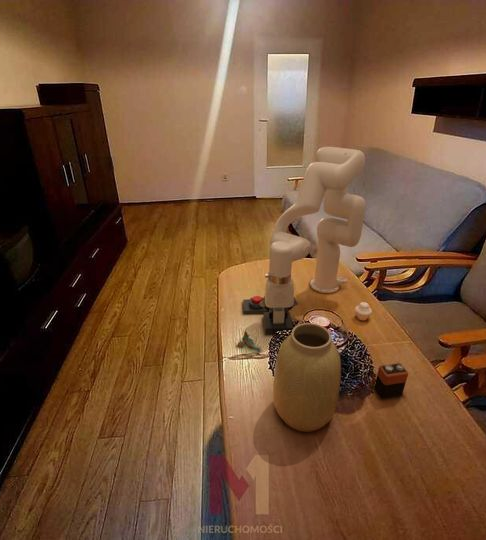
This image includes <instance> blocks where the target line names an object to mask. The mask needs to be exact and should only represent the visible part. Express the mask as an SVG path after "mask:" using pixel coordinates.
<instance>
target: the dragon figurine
mask: <svg viewBox="0 0 486 540" xmlns="http://www.w3.org/2000/svg"><path fill="white" fill-rule="evenodd" d="M245 344H246V346H248V347H250V348H251V349H254V350H257V351H256V353H257V354H258V355H259V351H260V348H259V347H256V346H255V345H256V343H255V342H254V340H253V339H252V338H251V337H250V334H248V332H247V331H246V330H245V331H244V333H243V336H242V337H241V340H239V341H238V343H237V344H236V346H237V347H243V346H245Z"/></svg>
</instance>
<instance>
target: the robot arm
mask: <svg viewBox="0 0 486 540" xmlns="http://www.w3.org/2000/svg"><path fill="white" fill-rule="evenodd" d="M315 159H316V161H314V162H312V163H310V164H309V165H308V167H307V168H306V171H305V174H304V176H303V179H302V182H301V185H300V188H299V191H298V194H297V197H296V200H295V202H294V203H293V205H292V206H290V207H289V208H287V209H286V210H285V211H284V212H283V213H282V214H281V215H280V216H279V217H278V219H277V220H276V222H275V224H274V227H273V230H272V233H271V236H270V239H269V240H270V241H269V245H270V246H269V265H268V267H269V268H268V273H264V278H265V279H266V282H265V288H264V289H265V290H264V296H263V297H262V298H263V299H262V300H261V301H260V306H262V307H264V308H265V309H266V310H268V311H269V319H271V322H272V323H273V308H284V311H285V314H284V322H286V318H287V317H288V312H290V311H291V310H293V308H295V307H296V306H298V305H299V301H298V300H297V299H296V298H295V286H294V280H293V279H292V265H293V262H296V261H300V260H302V259H305V258H306V257H307V256H308V255H309V254H310V252H311V250H312V244H311V242H310V241H309V240H308V239H307V238H304V237H302V236H299V235H296V234H291V233H288V232H287V230H288V227H289V226H290V224H291V223H293V221H295V220H297V219H299V218H301V217H305V216H308V215H313V214H317V213H318V212H319V211H320V208H321V206H322V204H323V212H324V214H326V215H328V216H331V217H322V219H320V220H319V221H318V223H317V226H316V235H317V248H316V249H317V250H316V258H315V267H314V268H315V269H314V276H313V277H314V278H312V279H311V280H310V283H309V285H310V288H311V289H312V290H314V291H316V292H318V293H322V294H333V293H336V292H337V291H339V289H340V285H341V284H345V285H348V279H347V278H345V279H344V277H343V276H338V272H339V265H340V257H341V247H340V245H341V246H343V247H344V246H345V247H349V248H354V247H356V246H357V245H358V244H359V242H360V240H361V237H362V232H363V227H364V221H365V214H366V206H367V205H366V200H365V198H364V197H362V196H361V195H357V194H352V193H349V185H350V184H352V182H353V181H354V180H355V179H356V178H357V177H358V176H359V175H360V173H361V172H362V171H363V168H364V166H365V163H366V156H365V154H364V152H363V151H361V150H359V149H355V148H347V147H339V146H338V147H337V146H322V147H320V148H319V149H318V150H317V152H316V157H315ZM343 219H344V220H343Z"/></svg>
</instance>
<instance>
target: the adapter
mask: <svg viewBox="0 0 486 540" xmlns="http://www.w3.org/2000/svg"><path fill="white" fill-rule="evenodd" d="M262 315H263V319H262V321H263V327H264V336H278V335H277V334H278V333H275V332H277V331H283V330H293V328H294V325H293V324H294V323H293V321H292V317H291V312H290V311H289V312H288V317H287V318H286V322H284V323H279V324H273V322H271V319H269V312H263V314H262Z"/></svg>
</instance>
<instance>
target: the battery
mask: <svg viewBox="0 0 486 540" xmlns="http://www.w3.org/2000/svg"><path fill="white" fill-rule="evenodd" d="M408 376H409V372H408V370H407V369H406V367H404V365H403V364H402V363H401V362H397V363H391V364H383V365H379V366H378V369H377V374H376V379H375V382H374V387H373V389H374V390H375V392H376V393H377V394H378V397H380V399H388V398H393V397H401V396H402V395H403V393H404V390H405V386H406V383H407V380H408Z"/></svg>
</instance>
